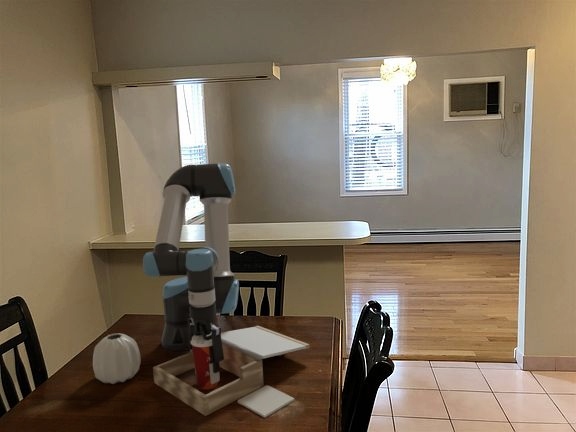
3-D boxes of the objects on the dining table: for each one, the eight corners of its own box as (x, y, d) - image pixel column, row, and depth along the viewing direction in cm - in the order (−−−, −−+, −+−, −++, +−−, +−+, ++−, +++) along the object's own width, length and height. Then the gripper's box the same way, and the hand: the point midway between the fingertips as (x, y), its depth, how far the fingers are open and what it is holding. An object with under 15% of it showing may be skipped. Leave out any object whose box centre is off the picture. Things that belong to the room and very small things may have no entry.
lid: (207, 348, 153) (206, 334, 152) (257, 328, 168) (257, 315, 167) (259, 373, 135) (258, 356, 134) (310, 348, 150) (309, 333, 149)
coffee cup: (216, 392, 133) (213, 343, 131) (189, 390, 135) (185, 341, 132) (225, 378, 141) (223, 331, 139) (200, 376, 143) (197, 329, 140)
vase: (128, 363, 154) (125, 324, 152) (149, 376, 144) (145, 335, 142) (86, 378, 144) (82, 337, 142) (105, 394, 135) (101, 350, 133)
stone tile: (237, 402, 127) (237, 400, 127) (267, 386, 135) (267, 384, 135) (264, 417, 120) (264, 415, 119) (294, 400, 127) (294, 398, 127)
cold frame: (154, 382, 140) (152, 357, 139) (210, 359, 154) (208, 336, 153) (205, 416, 121) (203, 387, 120) (263, 385, 136) (262, 359, 134)
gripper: (172, 299, 138) (178, 371, 142) (212, 314, 124) (217, 394, 128) (193, 293, 144) (198, 363, 147) (234, 307, 130) (238, 384, 133)
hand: (207, 377), depth 137 cm, fingers closed on coffee cup, 7 cm apart
